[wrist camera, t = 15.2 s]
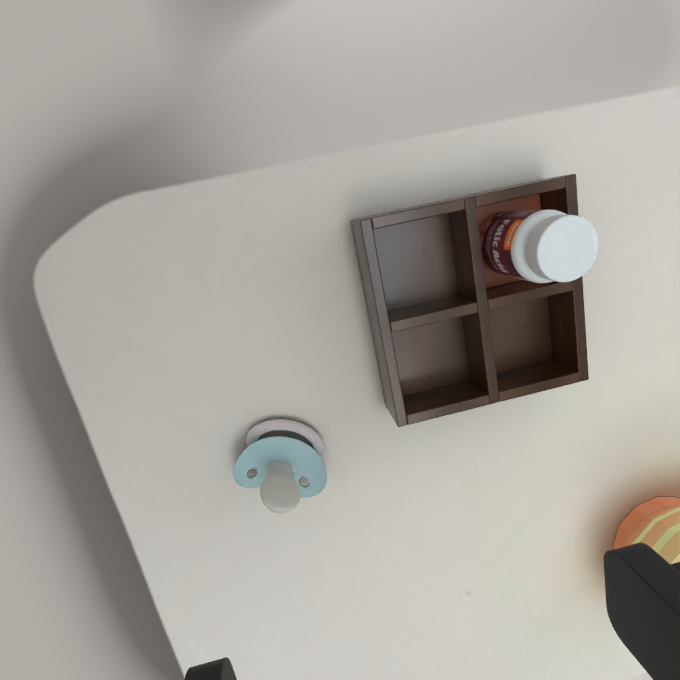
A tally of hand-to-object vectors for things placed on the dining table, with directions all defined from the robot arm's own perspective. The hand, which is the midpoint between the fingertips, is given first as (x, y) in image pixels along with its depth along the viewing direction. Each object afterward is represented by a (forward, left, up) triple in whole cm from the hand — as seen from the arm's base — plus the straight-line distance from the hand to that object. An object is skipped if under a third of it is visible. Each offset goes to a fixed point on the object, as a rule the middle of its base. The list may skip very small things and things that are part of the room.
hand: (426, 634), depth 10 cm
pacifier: (+3, -10, -28) cm, 30 cm away
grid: (+9, +8, -28) cm, 31 cm away
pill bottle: (+9, +13, -28) cm, 32 cm away
